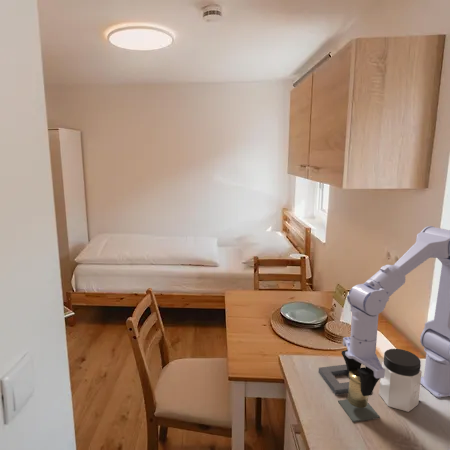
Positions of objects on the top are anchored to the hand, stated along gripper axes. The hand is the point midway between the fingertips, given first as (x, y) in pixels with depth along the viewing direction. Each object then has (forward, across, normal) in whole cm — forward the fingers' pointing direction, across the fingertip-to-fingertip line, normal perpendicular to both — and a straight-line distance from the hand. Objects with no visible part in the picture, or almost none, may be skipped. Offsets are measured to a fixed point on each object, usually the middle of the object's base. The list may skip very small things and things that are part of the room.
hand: (359, 386), depth 82 cm
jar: (+6, -2, +12) cm, 14 cm away
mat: (+6, 0, 0) cm, 6 cm away
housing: (+6, -11, +2) cm, 13 cm away
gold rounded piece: (+4, 0, 0) cm, 4 cm away
